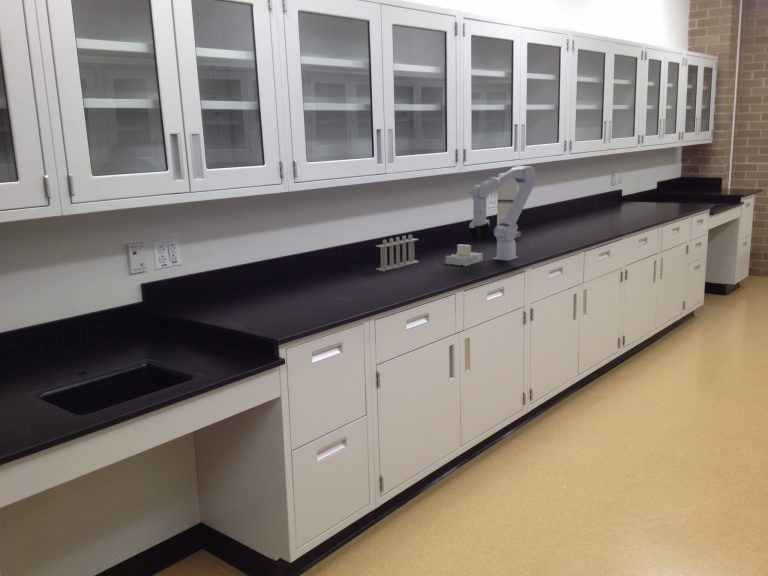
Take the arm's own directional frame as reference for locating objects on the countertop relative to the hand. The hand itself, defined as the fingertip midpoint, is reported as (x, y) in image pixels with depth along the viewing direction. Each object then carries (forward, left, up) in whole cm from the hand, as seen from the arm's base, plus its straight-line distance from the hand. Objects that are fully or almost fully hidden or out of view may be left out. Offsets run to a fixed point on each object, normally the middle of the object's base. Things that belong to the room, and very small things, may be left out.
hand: (479, 241), depth 305 cm
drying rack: (+4, -6, -9) cm, 12 cm away
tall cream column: (-76, -25, -10) cm, 81 cm away
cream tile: (+4, -6, -8) cm, 11 cm away
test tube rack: (+27, -26, -10) cm, 39 cm away
